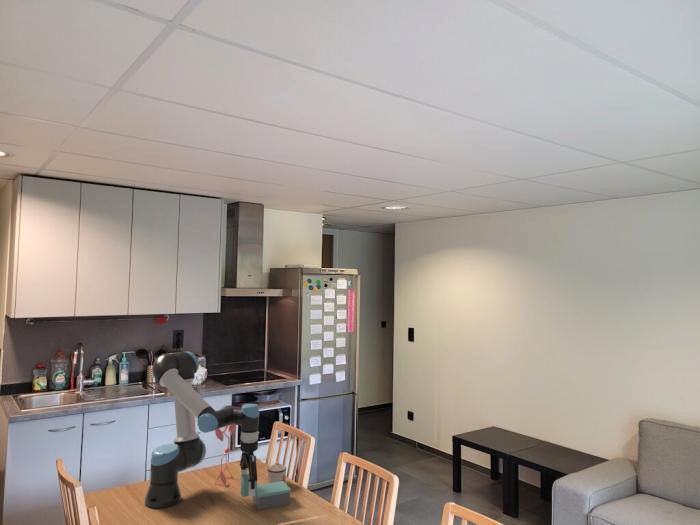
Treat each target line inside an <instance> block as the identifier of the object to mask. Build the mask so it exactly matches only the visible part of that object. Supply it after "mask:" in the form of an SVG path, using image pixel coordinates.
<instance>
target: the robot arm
mask: <svg viewBox="0 0 700 525" xmlns="http://www.w3.org/2000/svg"><path fill="white" fill-rule="evenodd" d="M199 364H200V363H199V359H198V357H197V356H196V355H195V354H194V353H193V352H192V351H177V352H172V353H164V354H161V355H159V356H158V357H157V358H156V359H155V360H154V362H153V364H152V367H151V368H152V370H151V371H152V375H153V378H154V379H155V381H156V383H158V385H160V386H161V387H165V388H166V389H167V390H168V391H169V392H170V393H171V394H172V395H173V397H174V398H173V400H174V412H175V413H174V414H175V426H176V427H175V428H176V437H175V439H173V443H167V444H162V445H159V446H157V447H155V448H154V449H153V450H152V451H151V456H150V457H151V458H150V475H149V486H148V489H147V490H146V494H145V496H144V505H145V506H146V507H148V508H153V509H164V508H169V507H172V506H175V505H177V504H179V503H180V501H181V499H182V492H181V489H180V486H179V482H178V479H179V478H178V477H179V473H180V472H182V471H186V470H187V469H190V468H194V467H196V466H197V465H199V464H201V463H202V462H203V460H204V459H205V457H206V453H207V452H206V451H207V448H206V444H205V443H204V441H203V440H202V439H201V438H200V437H201V436H200V435H199V434H198V433H197V432H196V420H195V418H196V419H197V427H198V429H199V431H200V432H201V433H210V432H215V430H217V429H221V428H226V426H228V427H229V425H232V424H235V425H236V426H240V450H241V456H240V461H239V467H240V476H241V475H243V474H249V477H250V480H248V482H249V495H248V496H247V497H249V498H251V497H252V498H253V496H255V487H256V481H257V482H258V470H257V456H256V455H255V454H254V452H256V451H257V450H258V449H259V435H260V432H259V423H260V407H259V404H256V403H244V404H243V405H242V406H240V407H239V406H234V405H223V406H221V408H219V410H216V409H214V408H213V407H212V405H210V404H209V403H208V402H207V401H206V399H204V398H203V397H202V396H201V395H200V394H199V393H198V392H197V391H196V389H194V388H193V381H194V380H195V379H196V378H195V374H197V372H198V370H199V367H200V365H199ZM239 485H240V486H241V483H240V484H239Z"/></svg>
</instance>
